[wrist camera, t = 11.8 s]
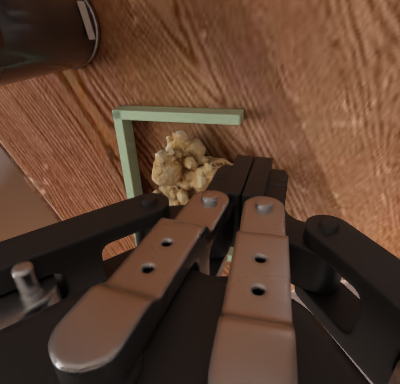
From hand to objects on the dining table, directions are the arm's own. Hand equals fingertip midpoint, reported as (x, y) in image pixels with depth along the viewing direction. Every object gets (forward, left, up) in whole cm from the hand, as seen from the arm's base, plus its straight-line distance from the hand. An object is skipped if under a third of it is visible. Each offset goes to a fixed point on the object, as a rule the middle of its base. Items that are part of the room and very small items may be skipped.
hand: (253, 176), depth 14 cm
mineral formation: (-11, -14, -25) cm, 30 cm away
